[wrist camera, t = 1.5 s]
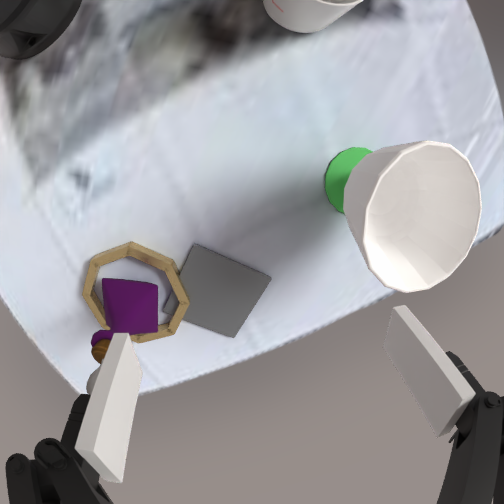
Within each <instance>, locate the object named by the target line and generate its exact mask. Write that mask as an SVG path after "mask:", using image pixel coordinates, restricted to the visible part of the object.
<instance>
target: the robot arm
mask: <svg viewBox="0 0 504 504" xmlns="http://www.w3.org/2000/svg"><path fill="white" fill-rule="evenodd" d="M81 2H82V0H0V56H2V57H5V58H11V59H25V58H28V57H31V56H34V55H36V54H38V53H39V52H41V51H43V50H44V49H46V48H47V47H48V46H49V45H51V44H52V43H53V42H54V41H55V40H56V39H57V38H58V37H59V36H60V35H61V34H62V33H63V32H64V31H65V29H66V28H67V27H68V26H69V24H70V23H71V21H72V20H73V18H74V17H75V15H76V13H77V11H78V9H79V7H80V4H81ZM383 348H384V350H385V352H386V353H387V355H388V356H389V358H390V359H391V361H392V362H393V364H394V366H395V368H396V369H397V371H398V372H399V374H400V375H401V377H402V379H403V381H404V382H405V384H406V385H407V387H408V389H409V390H410V392H411V394H412V396H413V397H414V398H415V401H416V402H417V404H418V406H419V407H420V409H421V411H422V412H423V414H424V416H425V418H426V420H427V421H428V423H429V425H430V427H431V428H432V430H433V432H434V434H435V435H436V437H437V438H438V437H440V436H442V435H444V434H447V433H449V432H450V431H451V429H452V428H453V427H454V425H456V426H457V428H458V430H457V431H456V432H455V433H454V435H453V436H452V437H451V439H450V440H449V443H451V441H453V439H454V443H453V447H452V452H451V456H450V460H449V464H448V468H447V472H446V475H445V479H444V482H443V486H442V489H441V492H440V495H439V498H438V501H437V504H491V502H492V498H493V504H504V396H503V397H500V396H499V395H497V394H496V393H494V392H485V390H484V389H483V388H482V387H481V385H480V384H479V383H478V381H477V380H476V379H475V377H474V376H473V375H472V374H471V373H470V371H468V369H467V367H466V366H465V365H464V364H463V362H462V361H461V360H460V358H459V357H457V356H456V355H455V354H453V353H452V352H450V351H449V352H446V353H445V352H444V351H443V350H442V349H441V347H440V346H439V345H438V344H437V342H436V341H435V340H434V339H433V337H432V336H431V335H430V334H429V333H428V332H427V330H426V329H425V328H424V327H423V325H421V323H420V322H419V321H418V319H417V318H416V317H415V316H414V315H413V314H412V312H411V311H410V310H409V309H408V308H407V307H406V306H405V305H403V306H397V307H393V310H392V314H391V318H390V323H389V326H388V330H387V334H386V337H385V341H384V345H383ZM142 374H143V372H142V369H141V367H140V364H139V361H138V359H137V356H136V353H135V350H134V347H133V344H132V342H131V339H130V336H129V333H114V335H113V338H112V340H111V343H110V345H109V348H108V350H107V353H106V355H105V358H104V361H103V363H102V366H101V369H100V372H99V374H98V377H97V380H96V383H95V385H94V388H93V391H92V394H91V395H89V394H81V395H80V396H79V397H78V398H77V399H76V400H75V402H74V404H73V407H72V409H71V414H70V415H69V418H68V421H67V424H66V427H65V430H64V432H63V435H62V439H61V442H59V441H58V440H56V439H54V438H46V439H43V440H41V441H40V442H39V443H38V444H37V445H36V447H35V450H34V456H35V460H29V459H28V458H27V457H26V456H25V455H23V454H19V453H16V454H13V455H12V456H10V457H9V458H8V460H7V462H6V478H7V488H8V495H9V501H10V504H113V502H112V501H111V499H110V498H109V497H108V495H107V493H106V492H105V490H104V489H103V488H102V486H101V484H99V482H98V481H99V476H101V477H102V478H103V479H104V480H105V481H111V482H118V483H122V481H123V474H124V467H125V461H126V455H127V448H128V443H129V437H130V432H131V427H132V422H133V416H134V411H135V406H136V402H137V397H138V392H139V388H140V383H141V379H142Z"/></svg>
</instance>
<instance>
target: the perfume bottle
mask: <svg viewBox="0 0 504 504" xmlns="http://www.w3.org/2000/svg"><path fill="white" fill-rule="evenodd" d="M102 291H103V301H104V310H105V318H106V324H107V326H108V327H110V330H99V331H98V332H96V333H94V334H93V337H92V340H91V345H92V350H91V353H92V355H93V357H94V359H95V360H96V361H97V362H98V363H100V364H101V365H100V367H99V368H98V369H97V370H95V371H94V372H93V373H92V374H91V375H90V377H89V379H88V382H87V386H86V389H87V393H88V394H89V395H91V394H92V391H93V388H94V385H95V383H96V380H97V377H98V374H99V372H100V369H101V366H102V363H103V361H104V358H105V355H106V353H107V350H108V348H109V345H110V343H111V340H112V338H113V335H114V333H129V336H131V335H136V334H145V333H157V332H158V286H157V285H155V284H152V283H149V282H141V281H133V280H125V279H112V278H103V279H102Z"/></svg>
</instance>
